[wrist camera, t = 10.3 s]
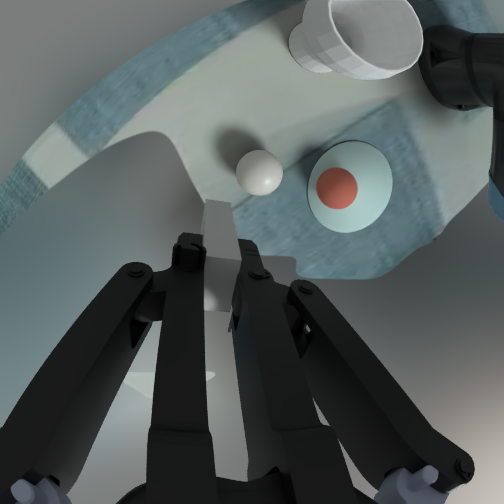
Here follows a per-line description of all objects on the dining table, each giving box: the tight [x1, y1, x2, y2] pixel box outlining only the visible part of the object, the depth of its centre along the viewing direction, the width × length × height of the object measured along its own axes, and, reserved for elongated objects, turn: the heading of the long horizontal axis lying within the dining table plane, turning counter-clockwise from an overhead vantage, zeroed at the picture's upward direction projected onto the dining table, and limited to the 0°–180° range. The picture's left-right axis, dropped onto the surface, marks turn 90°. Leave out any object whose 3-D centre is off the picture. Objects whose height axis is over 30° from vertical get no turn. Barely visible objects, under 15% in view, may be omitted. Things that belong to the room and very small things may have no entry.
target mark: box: [308, 141, 392, 233], centre depth 38 cm, size 14×14×1 cm
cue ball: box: [236, 150, 283, 195], centre depth 33 cm, size 6×6×6 cm
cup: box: [289, 0, 423, 80], centre depth 21 cm, size 11×11×15 cm
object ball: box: [316, 167, 358, 209], centre depth 35 cm, size 6×6×6 cm
